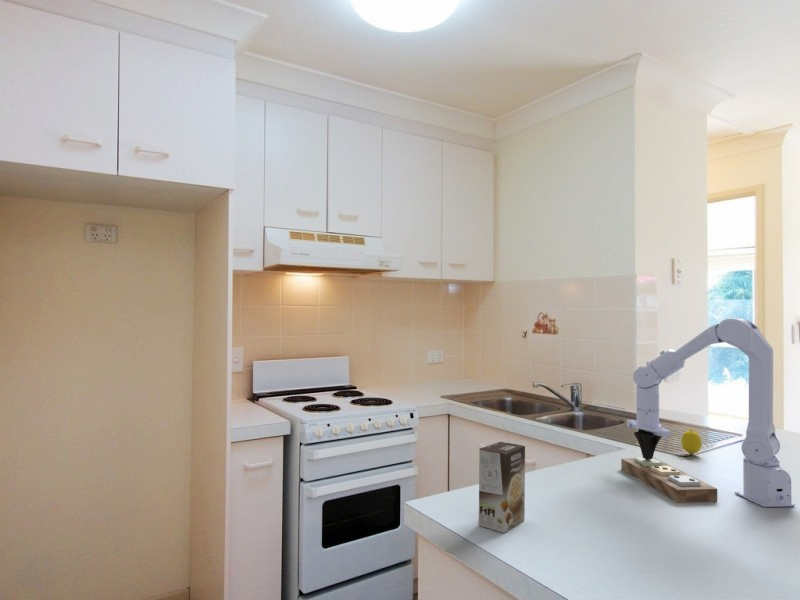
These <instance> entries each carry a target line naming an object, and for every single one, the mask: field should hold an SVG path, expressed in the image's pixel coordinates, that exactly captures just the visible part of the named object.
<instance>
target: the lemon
mask: <svg viewBox="0 0 800 600" xmlns="http://www.w3.org/2000/svg"><path fill="white" fill-rule="evenodd" d="M681 446H682V449H683V450H684V451H685V452H687V453H688V454H689V455H690V454H692V455H691V456H693V455H695V454H697V453H698V452H699V451H701V448H702V438H701V436H700V434H699V433H698V432H696V431H694V429H689V430H687V431H684V432H683V434H682V436H681Z"/></svg>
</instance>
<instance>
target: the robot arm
mask: <svg viewBox="0 0 800 600" xmlns="http://www.w3.org/2000/svg"><path fill="white" fill-rule="evenodd" d="M721 343H726V344H729V346H733V347H735V348H737V349H738V350H739V351H740V352H742V353H743V354H745V355H746V356H747V357H748V422H747V427H746V430H745V433H746V434H745V438H744V440H743V442H742V443H741V452H742V454H743V457H742V459H743V462H742V466H743V467H742V470H743V472H742V473H743V481H742V482H743V490H734V494H736V495H738V496H741V497H742V498H744V499H747V500H748V501H750V502H753V503H754V504H757V505H758V506H759V505H760V506H761V507H764V508H768V507H769V508H771V507H775V508H776V507H795V506H796V504H795V503H793V502H792V478H791V475H790V474H789V472H787V471H786V470H784V469H783V468H782V467H781V465H780V460H779V459H778V458H777V456H776V455H777V454H778V453H779V452H780V448H781V443H780V441H779V440H778V437H777V434H776V426H775V424H774V349H773V347H772V346H771V344H770V343H769V342H768V340H767V339H766V338H765V336H764V335H763V333H762V332H761V330H760V328H759V326H757V325H756V324H754V323H753V322H751V321H750V320H748V319H746V318H742V317H737V318H736V317H735V318H733V317H730V318H724V319H723V320H722V321H720V322H719V323H716V324H714V325H711V326H710V327H709V328H706V329H705V330H703V331H702V332H701V333H699V334H697V335H696V336H695V337H694V338H692V339H691V340H689V341H688V342H687V343H685V344H684V345H682V346H681V347H680V348H678V349H677V350H675V349H668V350H666V349H665V350H662V351H659V354H660V355H659V356H657V357H655V358H654V359H652V360H648V361H646V362H645V363H646V364H645V365H646V366H643V365H642V366H638V368H636V370H635V371H634V372H633V375H632V378H633V381H634V384H636V392H635V394H636V397H635V398H636V402H635V404H636V405H635V407H636V409H635V410H636V414H635V415H636V416H635V417H636V418H635V419H636V420H634V419H626V427H627V428H632V429H636V430H637V431H634V432H633V434H634V437H635V439H636V440H637V442H638V444H639V448H640V451H641V455H642V458H644V459H652V458H654V454H655V452H656V448H657V445H658V443H659V442H660V440H662V439H664V440H665V439H671V430H669V429H666V428H664V427H662V424H660V393H659V392H660V391H659V389H660V387H659V385H660V384H661V383H662V382H663V380H665V379H667V378H669V377H670V376H671V375H673V374H675V373H676V372H678V371H680V370H681V369H683V368H684V367H685V363H686V360H687V359H689V358H691V357H692V356H694V355H696V354H698V353H700V352H701V351H702V350H704V349H707V348H708V347H710V346H711V345H713V344H721ZM661 438H662V439H661Z"/></svg>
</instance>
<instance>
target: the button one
mask: <svg viewBox="0 0 800 600" xmlns="http://www.w3.org/2000/svg"><path fill="white" fill-rule="evenodd" d="M633 458H634V462H636V463H638V464H640V465H642V466H644V467H647V466H662V462H663V461H662V462H660V461H661V460H660V461H658V460H659V459H658V460H655V459H653V458H654V457H653V458H652V459H644V458H643V457H633Z"/></svg>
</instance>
